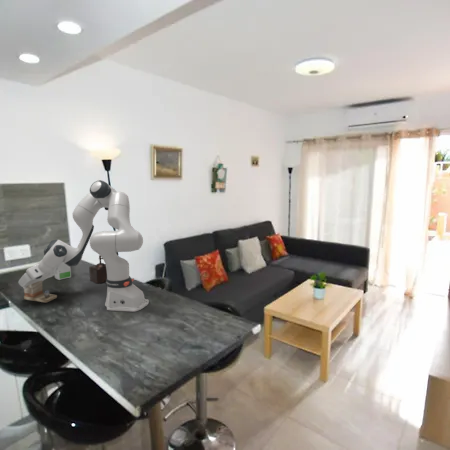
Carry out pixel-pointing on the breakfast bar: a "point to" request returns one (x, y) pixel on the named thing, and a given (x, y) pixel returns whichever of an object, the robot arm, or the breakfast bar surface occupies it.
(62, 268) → the skincare box
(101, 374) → the breakfast bar surface
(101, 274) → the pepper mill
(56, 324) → the breakfast bar surface
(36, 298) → the pin board
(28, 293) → the sleeve
